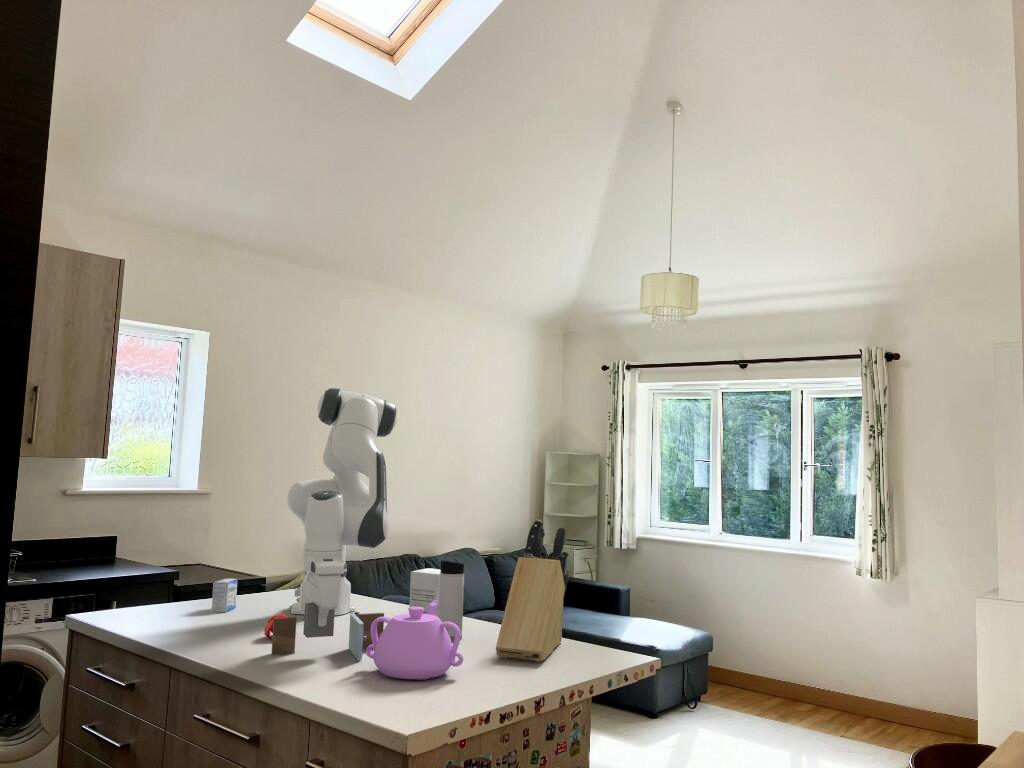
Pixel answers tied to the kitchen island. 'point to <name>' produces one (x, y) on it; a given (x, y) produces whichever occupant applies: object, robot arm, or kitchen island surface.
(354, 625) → the door
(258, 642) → the kitchen island surface
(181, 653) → the kitchen island surface
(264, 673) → the kitchen island surface
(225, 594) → the medicine box
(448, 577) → the travel mug
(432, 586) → the supplement box
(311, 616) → the block
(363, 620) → the door frame
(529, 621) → the knife block
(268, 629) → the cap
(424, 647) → the teapot
